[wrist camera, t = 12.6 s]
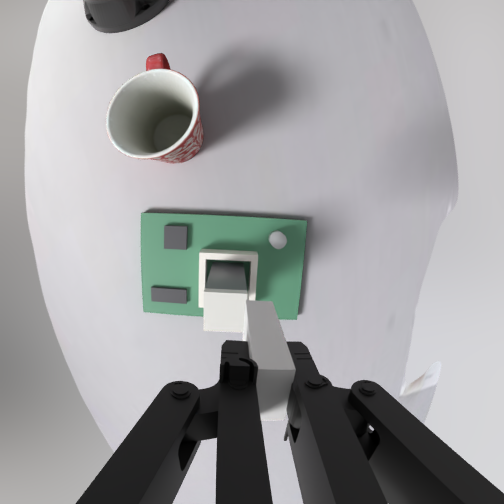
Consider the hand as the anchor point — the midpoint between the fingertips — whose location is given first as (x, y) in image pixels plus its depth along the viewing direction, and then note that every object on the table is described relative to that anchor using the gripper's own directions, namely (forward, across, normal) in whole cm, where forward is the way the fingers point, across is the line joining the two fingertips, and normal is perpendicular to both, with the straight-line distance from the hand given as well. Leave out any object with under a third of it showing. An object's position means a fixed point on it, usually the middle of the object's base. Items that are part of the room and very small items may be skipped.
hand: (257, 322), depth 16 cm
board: (+23, -3, -3) cm, 23 cm away
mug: (+24, -10, +16) cm, 30 cm away
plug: (+22, -2, -4) cm, 22 cm away
